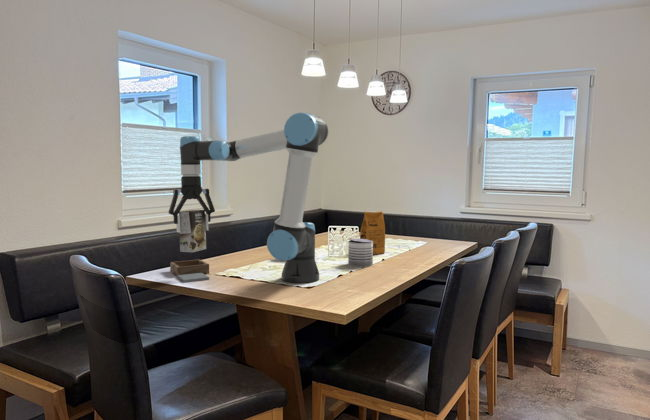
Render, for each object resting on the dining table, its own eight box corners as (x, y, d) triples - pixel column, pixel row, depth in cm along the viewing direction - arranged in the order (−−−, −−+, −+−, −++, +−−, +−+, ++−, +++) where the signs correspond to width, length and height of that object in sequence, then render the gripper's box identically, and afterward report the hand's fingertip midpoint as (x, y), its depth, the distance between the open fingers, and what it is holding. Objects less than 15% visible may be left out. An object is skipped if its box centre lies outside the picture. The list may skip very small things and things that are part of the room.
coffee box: (193, 252, 189) (191, 211, 188) (179, 251, 191) (177, 211, 190) (207, 249, 197) (205, 209, 196) (194, 248, 200) (192, 209, 199)
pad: (209, 279, 194) (209, 277, 194) (184, 282, 189) (183, 280, 189) (201, 274, 202) (201, 272, 202) (177, 277, 197) (177, 275, 197)
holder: (209, 273, 205) (209, 264, 205) (178, 277, 198) (177, 267, 198) (200, 268, 216) (199, 259, 216) (170, 271, 209) (170, 262, 209)
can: (348, 262, 231) (348, 237, 230) (372, 262, 231) (372, 237, 230) (348, 266, 220) (348, 240, 219) (373, 267, 219) (373, 240, 218)
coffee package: (357, 252, 259) (358, 211, 257) (379, 251, 262) (379, 210, 260) (364, 255, 249) (364, 212, 247) (386, 254, 253) (387, 212, 251)
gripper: (216, 175, 201) (217, 228, 203) (158, 176, 189) (160, 232, 191) (222, 175, 195) (223, 229, 197) (163, 176, 183) (165, 234, 185)
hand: (192, 231), depth 194 cm, fingers closed on coffee box, 11 cm apart
